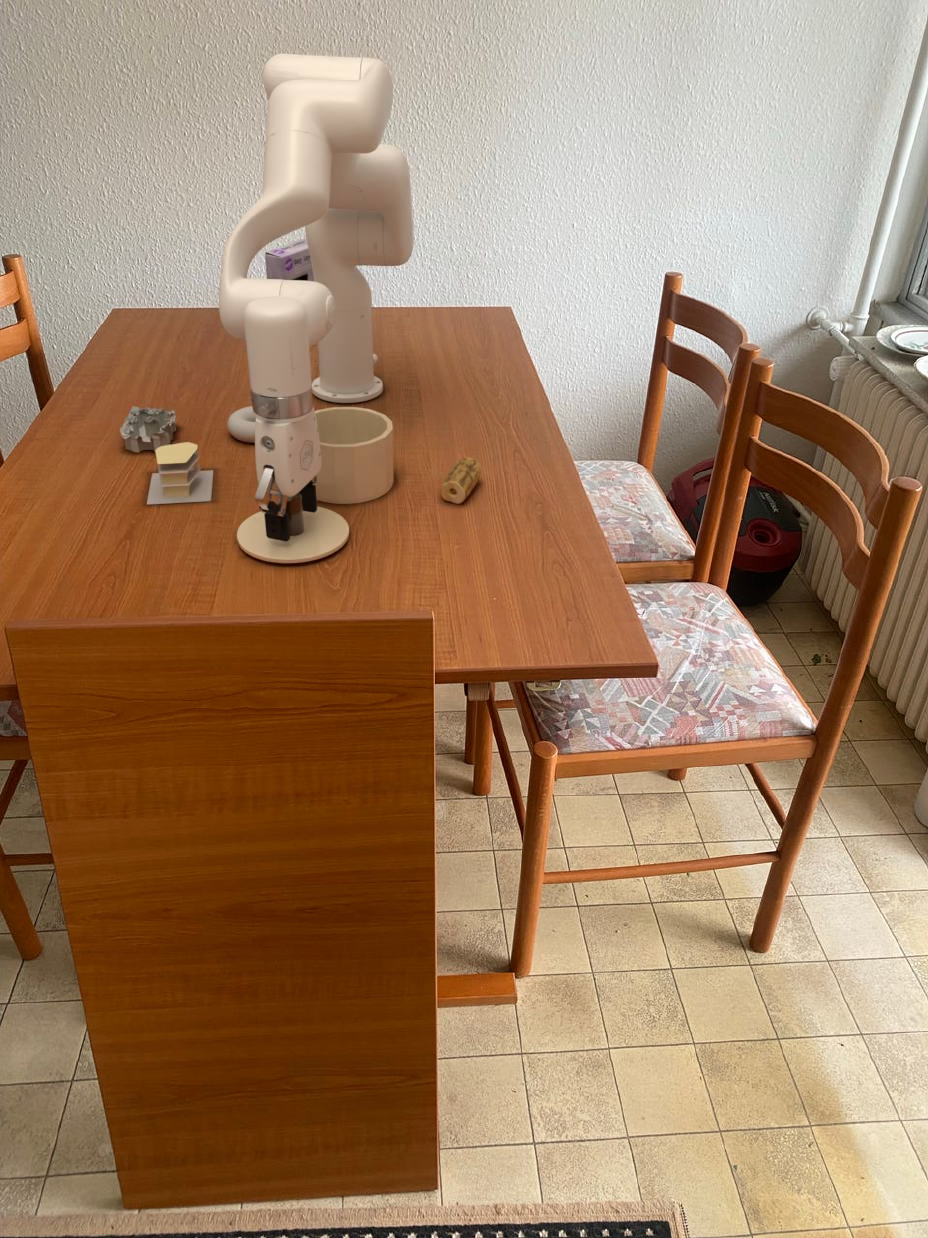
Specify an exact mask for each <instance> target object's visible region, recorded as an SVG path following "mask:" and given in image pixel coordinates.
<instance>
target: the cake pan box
mask: <svg viewBox="0 0 928 1238" xmlns="http://www.w3.org/2000/svg"><path fill="white" fill-rule="evenodd" d="M264 260H265V272H266V279H281V280H302V281H314V278H313V270H312V263H311V258H310V253H309V249H308V244H307V239H306V237H305V238H300V239H298V240H294V241H292V242H289V243H287V244H284V245H282V246H279V247H276V248H272V249H269V250H265V253H264Z"/></svg>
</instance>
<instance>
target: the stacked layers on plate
mask: <svg viewBox="0 0 928 1238" xmlns="http://www.w3.org/2000/svg"><path fill="white" fill-rule="evenodd" d="M197 450H198V444H197V443H193V442H190V441H185V442H180V443H179V442H178V443H173V444H170V445H166V446H161V447H159V448H157V449H156V450H155V451H154V453H155V456H156V464H157V469H158V472H154V473H153V472H152V473H151V478H150V484H149V489H148V494H147V500H146V505H162V504H164V505H166V504H183V503H203V502H211V501H212V494H213V493H212V491H213V479H214V469H211V470H201V465H200V464H198V460H199V458H200V453H199V452H196V451H197Z"/></svg>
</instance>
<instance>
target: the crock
mask: <svg viewBox="0 0 928 1238" xmlns="http://www.w3.org/2000/svg"><path fill="white" fill-rule="evenodd" d="M315 414H316V419H317V425H318V432H319V439H320V448H321V460H322V466H321V469H320V471H319V472H318V473H317V474H316V476H317V481H316V483H315V484H313V485H316V498H317V501H318V502H319V501H320V502H322V503H329V504H337V505H351V504H352V505H353V504H360V503H361V504H362V503H365V502H369V501H373V500H375V499H378V498H381V497H382V496H384V495H385V494H387V493H388V492H389V491H391V489H392V487H393V485H394V483H395V482H394V481H395V480H394V433H393V432H394V427H393V421H392V420H391V419H390V418H389V417H388V416H387V415H386V414H384V413H382V412H379V411H376V410H374V409H372V408H371V409H370V408H364V407H358V406H333V407H327V408H323V409H316V410H315Z"/></svg>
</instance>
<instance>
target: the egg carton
mask: <svg viewBox="0 0 928 1238" xmlns="http://www.w3.org/2000/svg"><path fill="white" fill-rule="evenodd" d="M176 418H177V414H176V411H175V410H174V409H170V411H166V410H165V409H164V408H163V407H161V408H155V407H151V408H150V407H145V408H144V407H138V406H134V405H132V406H131V409H130V411H129V414H128V415H127V416H126V417H125V420H124V422H123V424H122V426H120V428H119V433H120V435H121V437H122V439H124V446H125V449H126V450H128V451H131V452H132V453H134V454H135V453H137V454H139V453H140V452H142V451H146V450H147V451H150V450H152V451H154V452H155V450H156V449H157V448H159V447H161V446H166V445H171V441H172V440H173V438H174V435H173V434H174V432H176V431H177V427H176V423H175V421H176Z"/></svg>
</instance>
